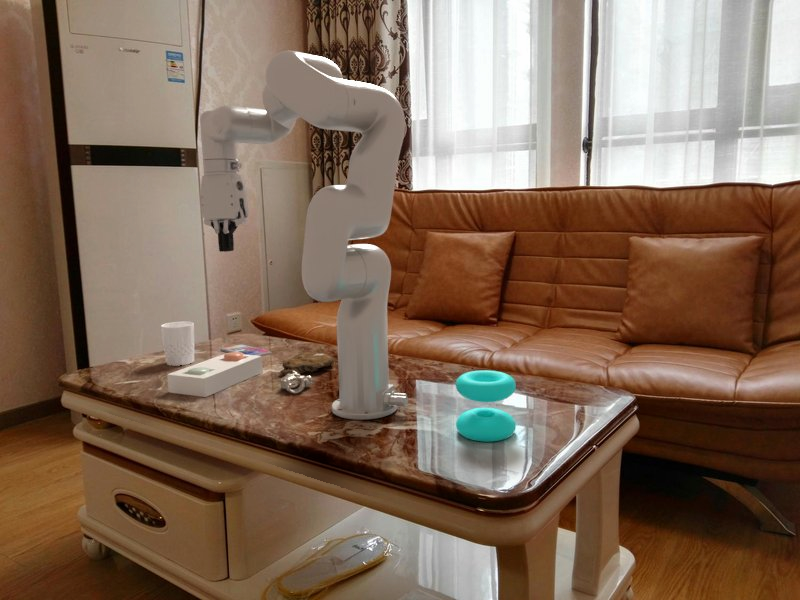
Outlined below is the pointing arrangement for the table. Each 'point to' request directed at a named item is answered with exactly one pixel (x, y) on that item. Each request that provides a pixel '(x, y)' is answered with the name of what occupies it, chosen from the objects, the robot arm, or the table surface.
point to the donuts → (485, 420)
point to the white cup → (178, 342)
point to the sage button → (198, 371)
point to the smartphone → (246, 350)
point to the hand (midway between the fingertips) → (226, 250)
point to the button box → (214, 375)
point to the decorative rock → (307, 362)
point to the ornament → (295, 382)
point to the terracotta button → (233, 356)
